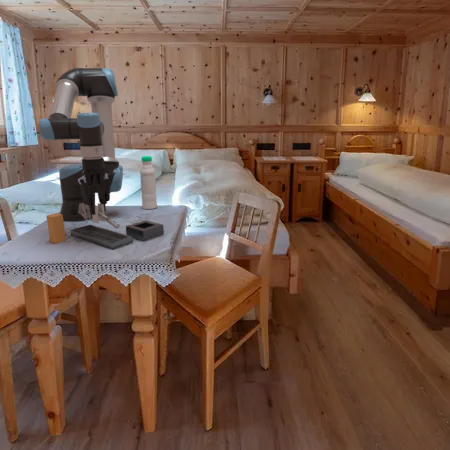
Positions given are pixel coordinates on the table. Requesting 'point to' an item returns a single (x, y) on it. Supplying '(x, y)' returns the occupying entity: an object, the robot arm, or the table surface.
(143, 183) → the water bottle
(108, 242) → the tray
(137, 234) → the socket
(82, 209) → the bracket
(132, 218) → the table surface
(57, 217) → the tan rectangular block
